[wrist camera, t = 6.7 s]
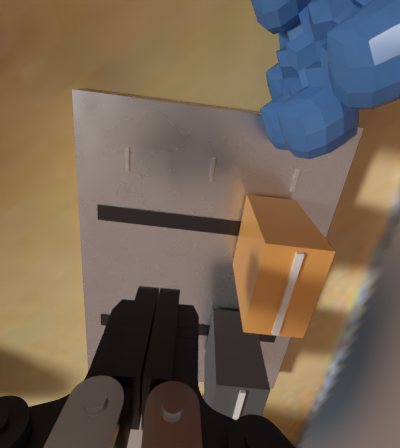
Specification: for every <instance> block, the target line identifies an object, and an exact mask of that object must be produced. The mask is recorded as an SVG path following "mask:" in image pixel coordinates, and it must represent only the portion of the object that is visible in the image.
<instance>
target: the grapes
mask: <svg viewBox="0 0 400 448" xmlns="http://www.w3.org/2000/svg"><path fill="white" fill-rule="evenodd" d="M251 1H252V4H253V7H254V11H255V14H256V17H257V21H258V23H260V24H261V25H262V26H263V27H264V28H265V29H267V30H268V31H270V32H271V33H273V34H276V33H279V42H280V50H279V51H277V52H276V53H277V57H278V62H279V63H277V64H276V65H274V66H273V67H272V68H271V69H269V70H268V71H267V72H266V77H267V83H268V87H269V90H270V94H271V97H272V101H270V102H269V103H268V104H266V105H265V106H264V107H262V108H261V109H260V110H261V115H262V120H263V124H264V127H265V130H266V133H267V136H268V138H269V141H270V142H271V143H272V144H273V145H274V147H275V148H276V149H280V150H289V151H290V152H291V153H292V154H293V155H294V156H295V157H299V158H304V159H313V158H316V157H319V156H322V155H325V154H328V153H331V152H333V151H334V150H336V149H337V148H339V147H341V146H342V145H344V144H345V143H347V142H348V141H349V140H351V139H352V138H353V137H354V136H356V135H357V130H358V116H359V109H374V108H377V107H379V106H382V105H384V104H387V103H390V102H392V101H395V100H397V99H400V0H251Z"/></svg>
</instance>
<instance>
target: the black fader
mask: <svg viewBox="0 0 400 448" xmlns="http://www.w3.org/2000/svg"><path fill="white" fill-rule="evenodd" d="M269 392H270V386H269V382H268V377H267V372H266V368H265V363H264V358H263V354H262V349H261V344H260V340H259V335H258V334H255V333H246V332H243V327H242V321H241V315H240V312H237V311H228V310H218V309H213V313H212V318H211V324H210V329H209V335H208V340H207V346H206V351H205V356H204V401H205V402H206V403H207V404H208V405H209V406H210V407H211V408H212V409H214V410H215V411H217V412H219V413H221V414H223V415H226V416H228V417H230V418H233V419H235V420H237V419H238V418H240V417H242V416H244V415H249V414H254V415H259V416H262V413H263V410H264V407H265V404H266V401H267V398H268V395H269Z"/></svg>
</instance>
